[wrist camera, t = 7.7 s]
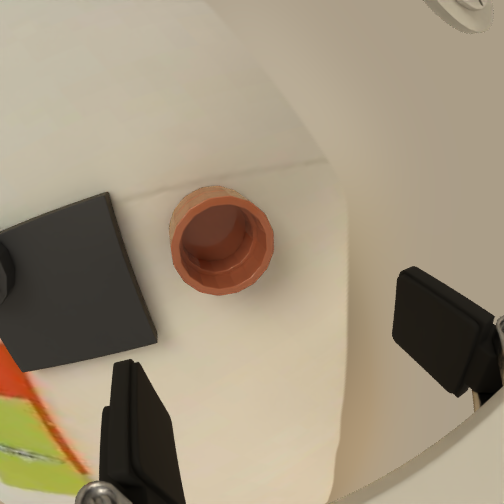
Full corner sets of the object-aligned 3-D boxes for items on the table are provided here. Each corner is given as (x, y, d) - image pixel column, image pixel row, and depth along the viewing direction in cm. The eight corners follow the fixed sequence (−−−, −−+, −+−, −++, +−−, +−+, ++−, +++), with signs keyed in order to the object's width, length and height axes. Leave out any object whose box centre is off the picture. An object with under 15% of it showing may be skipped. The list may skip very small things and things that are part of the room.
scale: (-38, 239, 16) (-56, 251, 14) (105, 181, 19) (96, 187, 16) (24, 363, 21) (15, 384, 19) (157, 333, 24) (158, 355, 21)
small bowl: (183, 174, 20) (188, 183, 16) (264, 198, 23) (288, 213, 19) (160, 257, 22) (160, 284, 18) (238, 274, 24) (254, 302, 20)
